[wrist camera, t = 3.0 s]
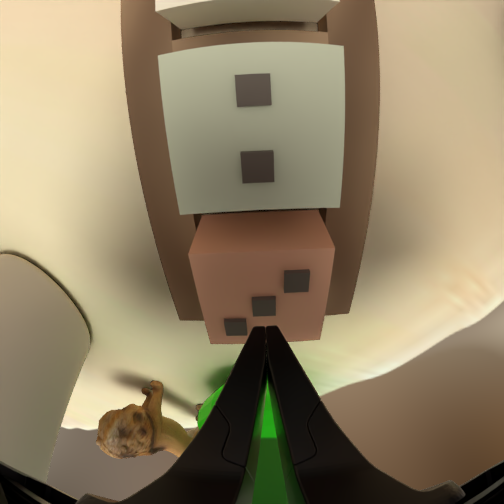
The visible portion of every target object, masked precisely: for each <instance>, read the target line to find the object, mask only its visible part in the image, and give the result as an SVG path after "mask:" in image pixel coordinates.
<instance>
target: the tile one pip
mask: <svg viewBox="0 0 504 504" xmlns="http://www.w3.org/2000/svg"><path fill="white" fill-rule="evenodd" d="M339 2H340V0H155V11H156V12H157V13H159V14H160V15H162V16H163V17H164V18H166V19H167V20H169V21H170V22H172V23H173V24H174V25H176V26H177V27H178V28H180V29H181V30H183V29H189V28H195V27H201V26H208V25H216V24H225V23H236V22H252V21H297V22H313V23H317V22H318V21H319V20H320V19H321V18H322V17H323V16H324V15H325V14H327V13H328V12H329V11H330V10H331V9H332V8H333V7H334V6H335V5H336V4H338V3H339Z"/></svg>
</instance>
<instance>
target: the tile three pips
mask: <svg viewBox="0 0 504 504" xmlns="http://www.w3.org/2000/svg"><path fill="white" fill-rule="evenodd" d="M334 253H335V246H334V244H333V242H332V240H331V237H330V235H329V233H328V231H327V228H326V226H325V224H324V222H323V220H322V218H321V215H320V213H319V211H318V210H292V211H265V212H244V213H226V214H210V215H202V217H201V220H200V222H199V225H198V228H197V231H196V233H195V236H194V239H193V242H192V245H191V248H190V251H189V253H188V256H189V260H190V265H191V269H192V273H193V277H194V282H195V286H196V290H197V294H198V298H199V302H200V306H201V310H202V313H203V317H204V321H205V325H206V328H207V332H208V336H209V339H210V343H211V344H245V343H246V341H247V339H248V336H249V334H250V332H251V330H252V328H253V327H254V326H265V329H266V326H272V325H277V326H278V327H279V329H280V330H281V332H282V334H283V336H284V337H285V339H286V341H287V342H294V341H308V340H320V336H321V331H322V326H323V321H324V316H325V310H326V305H327V299H328V293H329V287H330V281H331V274H332V267H333V260H334Z"/></svg>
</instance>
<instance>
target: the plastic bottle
mask: <svg viewBox="0 0 504 504" xmlns="http://www.w3.org/2000/svg"><path fill="white" fill-rule="evenodd" d="M224 385H225V384H224ZM224 385H222V386H221V387H220V388H219V389H218V390H217V391H215V392H214V393H213V394H212V395H211V396H210V397H209V398H208V399H207V400H206V401H205V402H204V404H203V405H202V407H201V408H200V410H199V413H198V422H197V424H198V427H199V430H200V428H201V427H202V425H203V424H204V422H205V420H206V419H207V417H208V415H209V413H210V411H211V410H212V408H213V406H214V405H215V402H216V400H217V398H218V396H219V394H220V392H221V390H222V389H223V387H224ZM254 484H255V485H254V492H253V499H252V504H288V498H287V493H286V487H285V481H284V476H283V470H282V464H281V459H280V453H279V447H278V442H277V436H276V430H275V424H274V418H273V413H272V407H271V401H270V395H269V389H268V381H267V390H266V399H265V408H264V416H263V425H262V433H261V441H260V449H259V456H258V464H257V471H256V478H255V483H254Z"/></svg>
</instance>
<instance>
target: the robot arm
mask: <svg viewBox="0 0 504 504" xmlns="http://www.w3.org/2000/svg"><path fill="white" fill-rule="evenodd" d="M266 354H267V358H266ZM267 381H268V389H269V395H270V401H271V407H272V413H273V418H274V424H275V430H276V436H277V442H278V447H279V453H280V459H281V464H282V470H283V476H284V481H285V487H286V493H287V498H288V504H504V460H503V461H502V462H500V463H498V464H496V465H494V466H492V467H491V468H489V469H487V470H486V471H484V472H482V473H480V474H479V475H477V476H476V477H474V478H472V479H471V480H469V481H467V482H466V483H464V484H462V485H460V486H458V485H457V484H455V483H454V482H453V481H451V480H450V481H447V482H444V483H441V484H438V485H436V486H433V487H430V488H427V489H424V490H420V491H418V490H416V489H413V488H411V487H409V486H407V485H406V484H404V483H402V482H400V481H398V480H397V479H395V478H393V477H391V476H390V475H388V474H386V473H385V472H383V471H381V470H380V469H378V468H376V467H375V466H374V465H373V464H371V463H370V462H369V461H368V460H367V459H366V458H365V457H364V456H363V455H362V453H360V451H359V450H358V449H357V448H356V446H355V445H354V444H353V443H352V442H351V441H350V440H349V438H348V437H347V436H346V435H345V433H344V432H343V431H342V430H341V428H340V427H339V426H338V424H337V423H336V422H335V421H334V419H333V417H332V416H331V414H330V413H329V411H328V410H327V408H326V406H325V405H324V403H323V402H322V401H321V398H320V397H319V395H318V393H317V392H316V390H315V388H314V387H313V385H312V383H311V382H310V380H309V378H308V377H307V375H306V373H305V371H304V370H303V368H302V366H301V365H300V363H299V361H298V360H297V358H296V356H295V354H294V353H293V351H292V349H291V348H290V346H289V344H288V342H287V341H286V339H285V337H284V336H283V334H282V332H281V330H280V329H279V327H278V326H277V325H272V326H266V329H265V326H254V327H253V328H252V330H251V332H250V334H249V336H248V339H247V341H246V343H245V345H244V347H243V349H242V351H241V353H240V355H239V357H238V359H237V361H236V363H235V365H234V367H233V369H232V371H231V373H230V375H229V377H228V379H227V381H226V383H225V385H224V387H223V389H222V390H221V392H220V394H219V396H218V398H217V400H216V402H215V405H214V406H213V408H212V410H211V411H210V413H209V415H208V417H207V419H206V420H205V422H204V424H203V425H202V427H201V428H200V430H199V431H198V433H197V434H196V436H195V437H194V439H193V440H192V441H191V442H190V444H189V445H188V446H187V448H186V449H185V450H184V452H183V453H182V454H181V456H180V457H179V458H178V459H177V461H176V462H175V463H174V464H173V466H172V467H171V468H170V469H169V470H168V471H167V472H166V473H164V474H163V475H162V476H161V477H159V478H158V479H156V480H155V481H153V482H152V483H150V484H149V485H147V486H146V487H144V488H143V489H141V490H140V491H138V492H136V493H135V494H133V495H131V496H130V497H128V498H126V499H124V500H122V501H116V500H112V499H108V498H104V497H100V496H97V495H93V494H89V493H87V494H85V495H84V496H83V497H82V498H81V499H77V498H75V497H73V496H71V495H68V494H66V493H64V492H63V491H61V490H59V489H57V488H55V487H52V486H50V485H48V484H46V483H44V482H42V481H40V480H38V479H36V478H34V477H31V476H29V475H27V474H25V473H23V472H21V471H19V470H17V469H15V468H13V467H11V466H9V465H7V464H5V463H4V462H2V461H0V504H252V499H253V492H254V485H255V484H254V483H255V478H256V471H257V464H258V456H259V449H260V441H261V433H262V425H263V416H264V408H265V399H266V390H267Z"/></svg>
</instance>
